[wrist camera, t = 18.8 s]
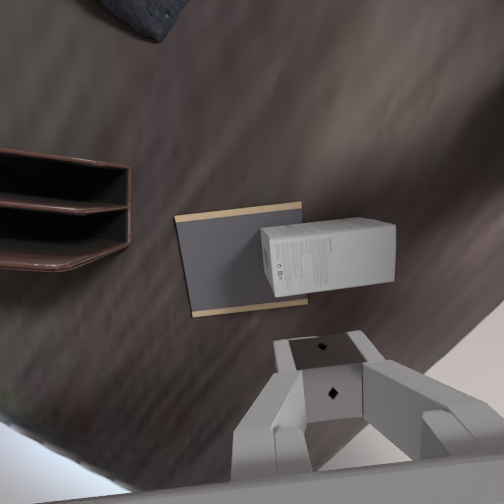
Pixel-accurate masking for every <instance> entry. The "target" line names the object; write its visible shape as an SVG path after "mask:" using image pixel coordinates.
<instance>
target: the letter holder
mask: <svg viewBox="0 0 504 504" xmlns="http://www.w3.org/2000/svg"><path fill="white" fill-rule="evenodd" d="M131 226H132V167H131V166H127V165H119V164H112V163H106V162H99V161H92V160H85V159H78V158H70V157H63V156H56V155H48V154H41V153H33V152H26V151H20V150H12V149H6V148H0V269H7V270H24V271H39V272H63V271H68V270H72V269H75V268H77V267H79V266H82V265H85V264H87V263H90V262H93V261H95V260H97V259H100V258H102V257H104V256H106V255H109V254H111V253H114V252H116V251H118V250H120V249H123V248H126V247H128V246H130V244H131Z"/></svg>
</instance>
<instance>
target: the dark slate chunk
mask: <svg viewBox="0 0 504 504" xmlns="http://www.w3.org/2000/svg"><path fill="white" fill-rule="evenodd" d="M99 1H101V2H102V4H103V5H104V6H105V7H106V8H107V9H108V10H109V11H110V12H112V13H113V14H114V15H115V16H117V17H118V18H120V19H122V20H123V21H124V22H125V23H127V24H130V25H131V27H132V28H133V29H134V30H135V31H136V32H137V33H141V34H143V35H144V36H146V37H155V38H156V39H157V40H158V41H159V42H160V41H162V39H163V38H165V36H166V33H167V32H169V31H170V30H171V29H172V27H173V26H174V24H175V22H176V20H177V17H178V16H179V13H180V11H181V10H182V9H183V8H184V7H185V6H186V5H187V3H188V1H189V0H99Z"/></svg>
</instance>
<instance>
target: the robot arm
mask: <svg viewBox="0 0 504 504" xmlns="http://www.w3.org/2000/svg"><path fill="white" fill-rule="evenodd" d="M273 348H274V357H275V366H276V373H274V374H273V375H272V377H271V378H270V380H269V381H268V382H267V384H266V385H265V387H264V388H263V390H262V391H261V393H260V394H259V396H258V397H257V398H256V400H255V401H254V403H253V404H252V406H251V407H250V409H249V410H248V412H247V413H246V415H245V416H244V417H243V419H242V420H241V422H240V423H239V425H238V426H237V428H236V429H235V431H234V434H233V451H232V467H231V481H230V482H222V483H213V484H204V485H195V486H186V487H178V488H169V489H160V490H151V491H142V492H133V493H125V494H116V495H107V496H99V497H90V498H81V499H72V500H63V501H54V502H45V503H36V504H504V418H503V417H501V416H500V415H499V414H498V413H497V412H496V411H495V410H494V409H492V408H491V407H490V406H489V405H488V404H487V403H485V402H483V401H481V400H478V399H476V398H474V397H472V396H469V395H467V394H465V393H463V392H461V391H458V390H456V389H454V388H452V387H450V386H447V385H445V384H443V383H441V382H439V381H436V380H434V379H432V378H430V377H427V376H425V375H423V374H421V373H419V372H417V371H414V370H412V369H410V368H408V367H406V366H403V365H401V364H399V363H397V362H394V361H392V360H385V359H384V357H383V356H382V355H381V354H380V353H379V351H378V350H377V349H376V348H375V347H374V345H373V344H372V343H371V342H370V340H369V339H368V338H367V337H366V336H365V334H364V333H363V332H362V331H360V330H357V331H351V332H345V333H339V334H332V335H324V336H313V337H303V338H293V339H288V340H287V339H283V340H275V341H273ZM352 417H364V419H365V420H366V421H368V422H369V423H370V424H371V425H372V426H373V427H375V428H376V429H377V430H378V431H379V432H380V433H382V434H383V435H384V436H385V437H386V438H387V439H389V440H390V441H391V442H392V443H393V444H394V445H396V446H397V447H398V448H399V449H400V450H401V451H403V452H404V453H405V454H406V455H407V456H408V457H410V458H411V459H412V460H413V461H406V462H398V463H389V464H380V465H372V466H363V467H354V468H345V469H338V470H337V469H336V470H327V471H319V472H313V471H312V466H311V462H310V458H309V454H308V450H307V446H306V442H305V438H304V432H305V429H306V426H307V423H311V422H317V421H324V420H331V419H340V418H352Z"/></svg>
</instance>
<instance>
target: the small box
mask: <svg viewBox="0 0 504 504" xmlns="http://www.w3.org/2000/svg"><path fill="white" fill-rule="evenodd" d="M260 231H261V243H262V253H263V263H264V273H265V275H266V277H267V279H268V281H269V283H270V286H271V288H272V290H273V293H274V296H275V297H284V296H292V295H299V294H306V293H313V292H321V291H328V290H336V289H343V288H351V287H358V286H365V285H373V284H380V283H389V282H394V276H395V257H396V225H395V224H390V223H386V222H381V221H379V220H374V219H366V218H360V217H355V218H346V219H337V220H328V221H319V222H309V223H301V224H293V225H283V226H274V227H265V228H261V229H260Z"/></svg>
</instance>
